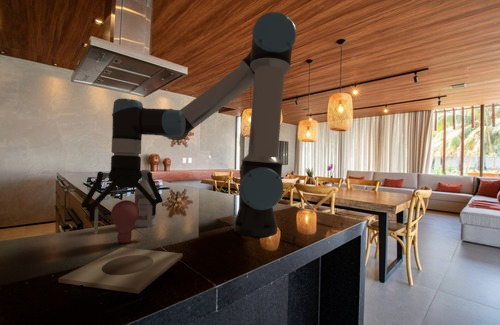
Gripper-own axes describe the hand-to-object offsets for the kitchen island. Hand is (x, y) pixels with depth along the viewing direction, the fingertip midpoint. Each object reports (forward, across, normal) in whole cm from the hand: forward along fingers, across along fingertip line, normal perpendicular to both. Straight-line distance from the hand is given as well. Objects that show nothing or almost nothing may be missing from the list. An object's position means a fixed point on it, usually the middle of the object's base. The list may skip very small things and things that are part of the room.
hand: (124, 229), depth 69 cm
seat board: (+4, +1, +19) cm, 19 cm away
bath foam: (+4, -9, -17) cm, 19 cm away
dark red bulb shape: (+4, 0, 0) cm, 4 cm away
